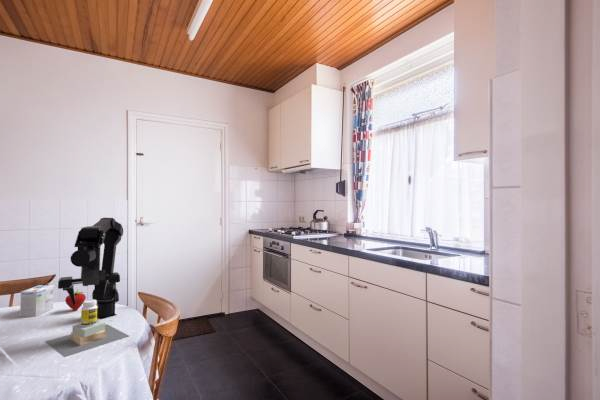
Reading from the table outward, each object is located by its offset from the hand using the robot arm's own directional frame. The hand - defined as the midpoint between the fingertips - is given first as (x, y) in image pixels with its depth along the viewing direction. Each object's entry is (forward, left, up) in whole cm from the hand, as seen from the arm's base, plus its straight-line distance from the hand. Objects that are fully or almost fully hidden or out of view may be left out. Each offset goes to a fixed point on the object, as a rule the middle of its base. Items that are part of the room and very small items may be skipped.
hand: (89, 303), depth 115 cm
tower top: (+2, +5, -9) cm, 10 cm away
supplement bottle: (+2, +5, -7) cm, 8 cm away
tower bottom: (+2, +5, -11) cm, 12 cm away
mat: (+2, +5, -12) cm, 13 cm away
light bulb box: (+4, -43, -12) cm, 45 cm away
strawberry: (-7, -33, -12) cm, 36 cm away
